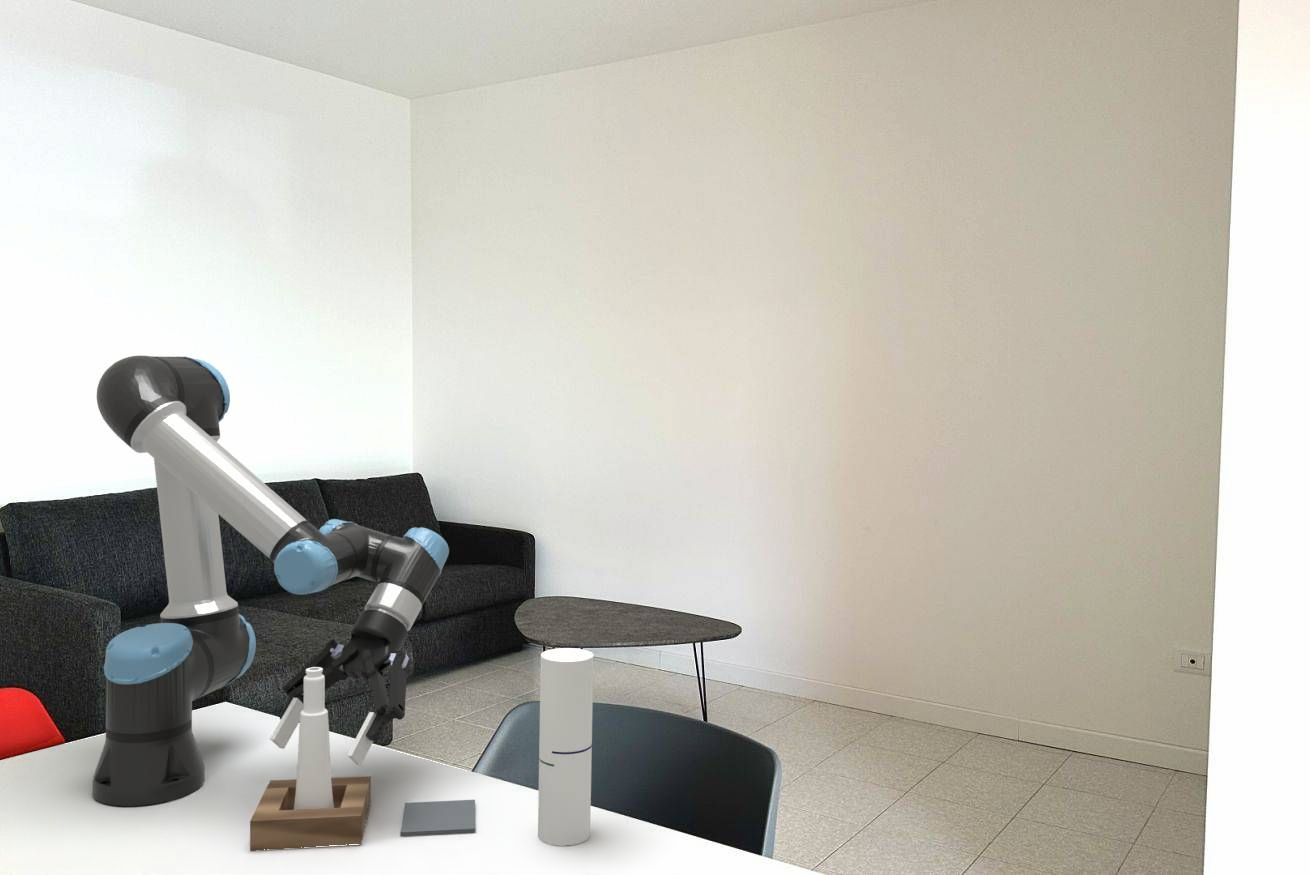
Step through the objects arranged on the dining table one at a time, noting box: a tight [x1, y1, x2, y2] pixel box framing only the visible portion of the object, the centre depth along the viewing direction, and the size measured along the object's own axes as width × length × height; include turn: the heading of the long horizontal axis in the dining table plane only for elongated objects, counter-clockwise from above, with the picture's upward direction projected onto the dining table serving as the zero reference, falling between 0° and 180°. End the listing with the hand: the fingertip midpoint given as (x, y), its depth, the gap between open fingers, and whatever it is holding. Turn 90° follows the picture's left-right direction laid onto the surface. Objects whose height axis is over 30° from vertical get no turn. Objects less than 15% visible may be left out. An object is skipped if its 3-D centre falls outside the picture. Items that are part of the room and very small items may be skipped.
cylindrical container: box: [537, 647, 594, 847], centre depth 144 cm, size 7×7×25 cm
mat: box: [399, 799, 476, 837], centre depth 149 cm, size 10×10×1 cm
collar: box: [249, 775, 372, 852], centre depth 146 cm, size 14×14×4 cm
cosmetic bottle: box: [294, 667, 334, 810], centre depth 145 cm, size 6×6×22 cm
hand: (314, 752), depth 144 cm, fingers open, 13 cm apart
